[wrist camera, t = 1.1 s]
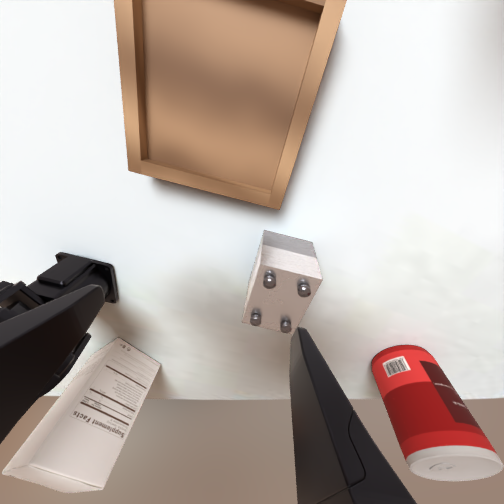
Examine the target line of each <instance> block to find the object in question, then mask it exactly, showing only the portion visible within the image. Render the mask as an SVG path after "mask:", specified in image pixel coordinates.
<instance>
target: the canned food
mask: <svg viewBox="0 0 504 504" xmlns="http://www.w3.org/2000/svg"><path fill="white" fill-rule="evenodd" d="M372 372H373V375H374V377H375V380H376V383H377V386H378V388H379V391H380V394H381V396H382V399H383V402H384V404H385V407H386V410H387V412H388V415H389V418H390V421H391V423H392V426H393V428H394V431H395V434H396V437H397V439H398V442H399V445H400V447H401V450H402V452H403V455H404V457H405V460H406V462H407V464H408V466H409V469H410V471H411V472H412V473H414V474H416V475H418V476H420V477H424V478H428V479H433V480H442V481H467V480H476V479H482V478H486V477H490V476H493V475H495V474H497V473H498V472H500V471H501V470H502V469H503V464H502V462H501V461H500V459H499V456H498V455H497V453H496V452H495V450H494V448H493V447H492V445H491V444H490V442H489V440H488V439H487V437H486V436H485V434H484V433H483V431H482V430H481V428H480V427H479V425H478V424H477V422H476V421H475V419H474V418H473V416H472V415H471V413H470V412H469V410H468V409H467V407H466V406H465V404H464V403H463V401H462V400H461V398H460V396H459V395H458V393H457V392H456V390H455V389H454V387H453V386H452V384H451V383H450V381H449V380H448V378H447V377H446V375H445V374H444V372H443V371H442V369H441V368H440V366H439V365H438V363H437V362H436V360H435V359H434V357H433V356H432V355H431V354H430V353H429V352H427V351H426V350H425V349H423V348H421V347H418V346H414V345H399V346H394V347H390V348H387V349H385V350H383V351H381V352H380V353H378V354H377V355H376V356H375V357H374V358H373V360H372Z"/></svg>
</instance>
